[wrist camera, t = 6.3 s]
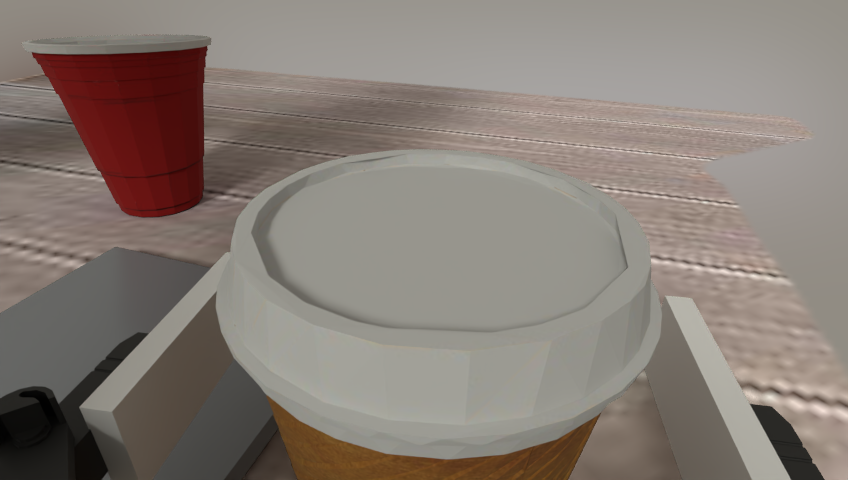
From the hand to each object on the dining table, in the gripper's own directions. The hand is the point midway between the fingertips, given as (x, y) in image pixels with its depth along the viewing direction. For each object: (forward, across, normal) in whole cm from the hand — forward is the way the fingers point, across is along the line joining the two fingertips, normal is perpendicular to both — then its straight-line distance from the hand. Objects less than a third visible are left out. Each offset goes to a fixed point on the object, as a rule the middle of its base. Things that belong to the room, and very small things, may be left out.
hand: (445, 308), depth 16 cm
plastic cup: (+19, -24, -7) cm, 31 cm away
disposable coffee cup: (-3, 0, -7) cm, 8 cm away
